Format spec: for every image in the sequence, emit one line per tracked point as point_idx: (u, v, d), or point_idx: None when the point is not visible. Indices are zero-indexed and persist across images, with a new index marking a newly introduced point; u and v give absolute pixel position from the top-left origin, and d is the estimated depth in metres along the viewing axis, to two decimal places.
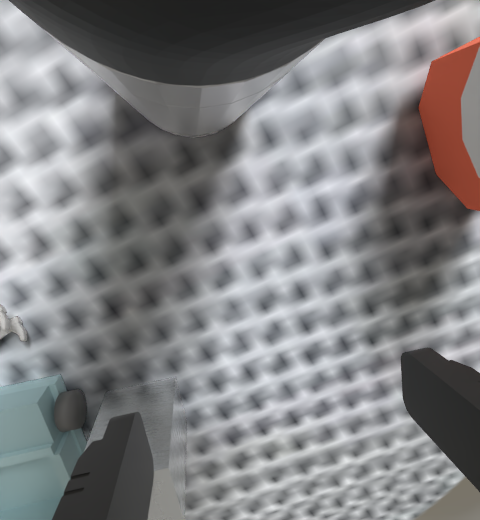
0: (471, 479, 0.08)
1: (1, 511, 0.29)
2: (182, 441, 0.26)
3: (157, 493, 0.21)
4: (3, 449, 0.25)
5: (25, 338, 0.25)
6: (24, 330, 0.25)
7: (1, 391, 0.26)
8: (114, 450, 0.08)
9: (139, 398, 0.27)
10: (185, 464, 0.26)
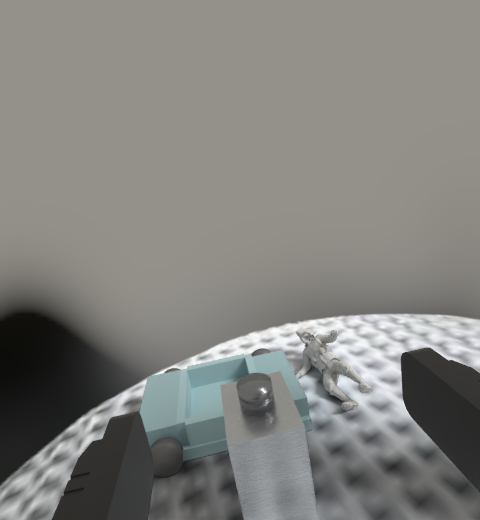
0: (471, 479, 0.08)
1: (191, 392, 0.38)
2: (263, 506, 0.21)
3: (272, 420, 0.21)
4: None
5: (344, 406, 0.32)
6: (349, 407, 0.32)
7: None
8: (114, 450, 0.08)
9: None
10: (241, 499, 0.21)
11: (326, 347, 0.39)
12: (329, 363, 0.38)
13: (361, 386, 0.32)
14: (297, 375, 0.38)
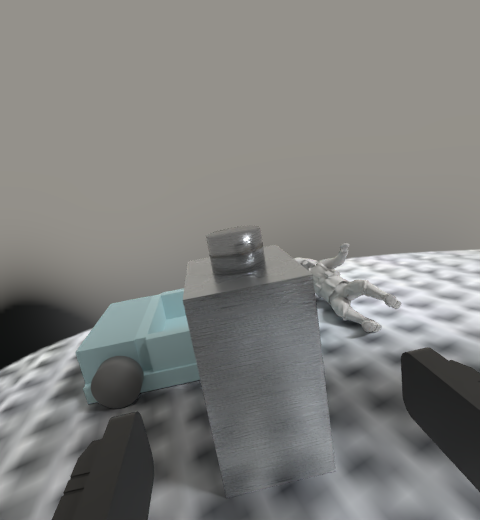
0: (471, 479, 0.08)
1: (165, 323, 0.30)
2: (244, 415, 0.13)
3: (259, 275, 0.13)
4: None
5: (365, 325, 0.24)
6: (372, 327, 0.24)
7: None
8: (114, 450, 0.08)
9: None
10: (208, 400, 0.13)
11: (332, 270, 0.31)
12: (338, 287, 0.30)
13: (388, 296, 0.24)
14: None
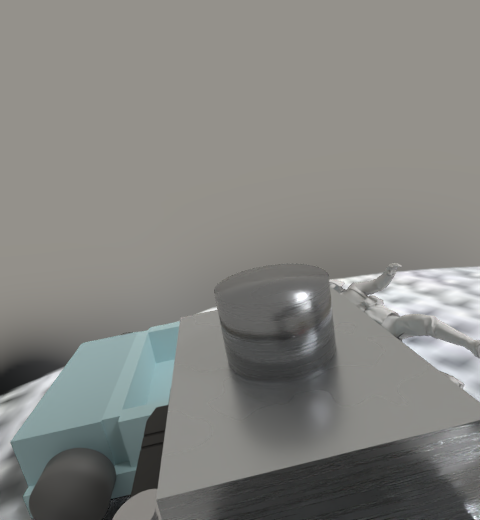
0: None
1: (153, 369, 0.23)
2: None
3: (341, 394, 0.06)
4: None
5: None
6: None
7: None
8: None
9: None
10: None
11: (374, 297, 0.23)
12: (385, 322, 0.22)
13: None
14: None
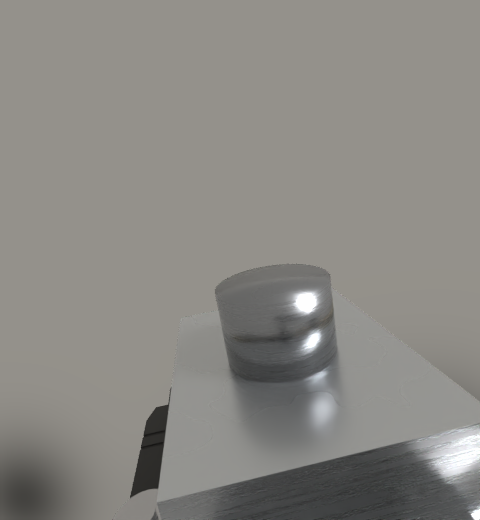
0: None
1: None
2: None
3: (343, 396, 0.06)
4: None
5: None
6: None
7: None
8: None
9: None
10: None
11: None
12: None
13: None
14: None
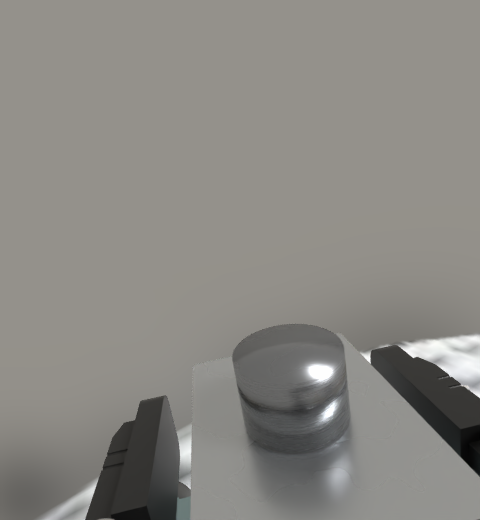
0: None
1: None
2: None
3: (360, 475, 0.06)
4: None
5: None
6: None
7: None
8: (148, 429, 0.08)
9: None
10: None
11: None
12: None
13: None
14: None
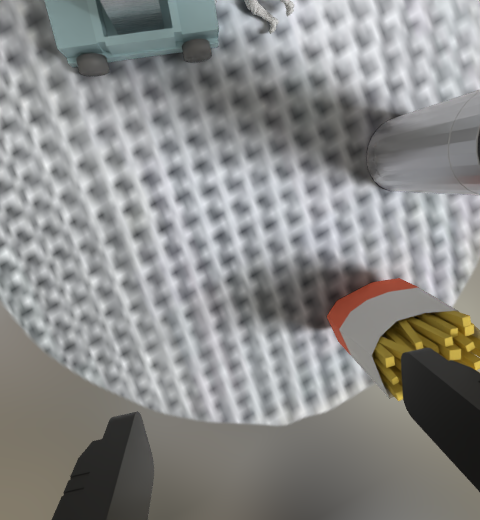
0: (471, 479, 0.08)
1: None
2: (124, 17, 0.31)
3: None
4: None
5: (272, 32, 0.37)
6: (274, 29, 0.37)
7: None
8: (114, 450, 0.08)
9: None
10: (108, 13, 0.30)
11: None
12: None
13: (290, 13, 0.35)
14: None
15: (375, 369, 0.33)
